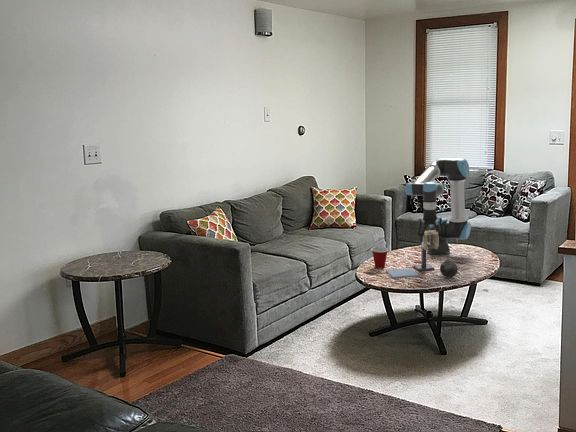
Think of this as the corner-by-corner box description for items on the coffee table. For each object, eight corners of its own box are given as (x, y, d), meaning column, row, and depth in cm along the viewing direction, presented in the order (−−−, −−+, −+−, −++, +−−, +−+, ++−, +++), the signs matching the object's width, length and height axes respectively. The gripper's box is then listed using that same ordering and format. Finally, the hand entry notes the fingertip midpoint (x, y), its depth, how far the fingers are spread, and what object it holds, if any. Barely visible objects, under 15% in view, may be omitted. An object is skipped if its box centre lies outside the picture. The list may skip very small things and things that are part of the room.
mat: (411, 269, 385) (411, 268, 385) (419, 276, 370) (419, 275, 369) (386, 271, 384) (385, 269, 384) (392, 278, 368) (392, 276, 368)
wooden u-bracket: (435, 247, 376) (435, 230, 374) (438, 249, 371) (438, 231, 369) (422, 248, 375) (422, 230, 373) (424, 250, 370) (424, 232, 368)
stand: (429, 266, 392) (429, 237, 389) (440, 275, 371) (441, 244, 368) (413, 267, 392) (413, 238, 388) (424, 276, 370) (424, 245, 367)
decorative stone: (437, 278, 365) (437, 261, 364) (444, 274, 373) (444, 257, 371) (453, 280, 359) (453, 263, 357) (460, 276, 367) (460, 259, 365)
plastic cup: (378, 270, 388) (377, 251, 385) (368, 266, 397) (367, 248, 395) (392, 267, 392) (392, 248, 390) (382, 264, 402) (381, 245, 400)
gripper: (414, 211, 364) (414, 249, 368) (449, 208, 366) (449, 246, 370) (410, 208, 371) (411, 246, 375) (445, 206, 373) (445, 244, 377)
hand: (430, 246), depth 373 cm, fingers closed on wooden u-bracket, 8 cm apart
